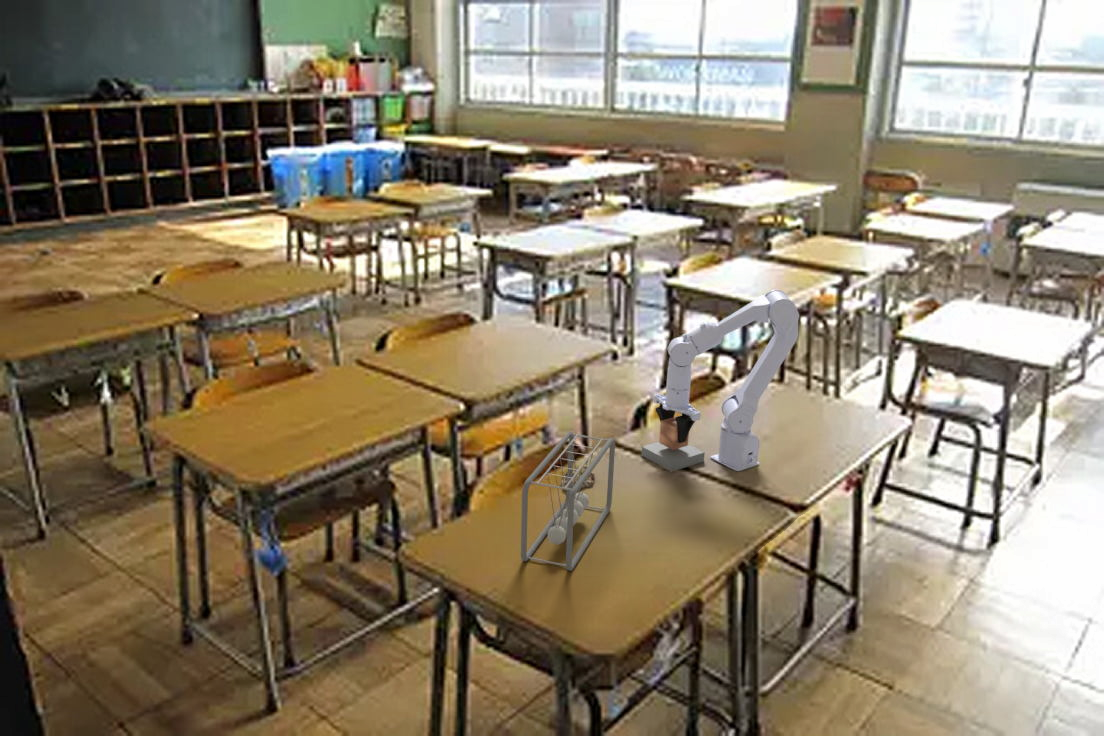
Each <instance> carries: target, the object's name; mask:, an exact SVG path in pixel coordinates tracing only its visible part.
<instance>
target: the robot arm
mask: <svg viewBox="0 0 1104 736" xmlns="http://www.w3.org/2000/svg"><path fill="white" fill-rule="evenodd" d="M799 318H800V313H799V311H798V309H797V306H796V304H795V303H794V302H793V301H792V300H791V299H790V298H789V296H788V295H787V294H786V293H785V292H784V291H783V290H780V289H772V290H769V291H768V292H766V294H762V295H759V296H757V297H756V298H755V299H753V300H752V301H751V302H749V303H747V304H746V305H744V306H742V307H741V308H739V309H738V310H736V311H735V312H733V313H731V314H730V315H728V316H726V317H725V318H723V319H721V320H720V321H718V322H717V323H716V322H713V321H712V322H711V321H709V322H707V323H706V322H702V323H700V324H699V327H698V328H696V329H694V330H692V331H691V332H689V333H684V334H681V337H680V336H678V337H675V338H673V339H671V341H670V343H669V344H668V346H667V349H666V350H667V352H668V355H669V358H668V367H667V375H666V385H665V386H666V387H665V388H666V389H665V395H664V394H661V393H658V394H655V395H653V403H654V404H659V406H657V407H655V413H656V414H657V416H658V420H659V422H660V423H661V421H662V420H665V419H669V418H673V417H675V420H676V423H677V429H678V442H679V443H682V442H686V439H687V436H688V433H689V434H690V431H691V429H692V427H693V426H694V424H695V422H696V421H699V420H701V411H699V410H698V409H696V408H695V407H694V406H693V405H692V404H691V403H690V394H691V393H690V392H691V382H692V380H691V379H692V364H693V362H694V361H695V358H696V357H697V356H699V355H701V354H703V353H706V352H708V350H711V349H713V348H715V347H716V346H718V345H720V344H721V343H722V342H723V339H724V337H725V336H726V335H728V334H730V333H732V332H734V331H736V330H738V329H740V328H743V327H744V326H746V325H749V324H750V323H753V322H760V323H765V324H767V323H768V324H769V319H770V322H771V325H772V328H773V331H774V333H773V335H772V337H771V339H770V340H769V342H768V344H767V345H766V346H765V348H764V350H763V352H762V353H761V355H760V357H759V358H758V359H757V361H756V362H755V364H754V366H753V367H752V369H751V371H750V372H749V374H748V375H747V377H746V378H745V380H744V382H743V383H742V385H741V386H740V387H738V388H737V389H735V390H734V391H733V393H732V394H731V396H729V397H727V398H726V399H725V400H724V401H723V402H722V405H721V413H722V415H723V417H724V419H723V421H722V422H721V424H720V434H719V435H720V436H719V445H718V453H717V454H713V455H710V459H711V460H714V461H715V462H718V463H719V464H722V465H723V466H726V467H728V468H729V469H732V470H733V471H736V472H742V471H744V470H747V469H749V468H753V467H756V466H758V465H760V462H759V460H758V459H759V450H760V439H759V437H758V436H757V435H756V434H754V432H753V431H752V429H751V428H752V427H753V424H754V417H755V415H756V413H757V412H758V406H759V400H760V398H761V397H762V395H763V394H764V392H765V390H766V389H767V388H768V386H769V384H770V383H771V382H772V379H774V377H775V375H776V374H777V372H778V370H779V369H780V368H781V365H782V364H783V363H784V361H785V360H786V357H787V356H788V355H789V353H790V352H791V350H792V349H793V346H795V344H796V342H797V340H798V339H799ZM676 413H679V414H681V415H679V416H675V414H676Z"/></svg>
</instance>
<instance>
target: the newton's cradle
mask: <svg viewBox="0 0 1104 736" xmlns="http://www.w3.org/2000/svg"><path fill="white" fill-rule="evenodd" d="M578 437H580V438H585V439H592V440H598V443H597V444H596V445H595V447H593V448H592V447H591V446H587V448H588V449H592V451H590V453H589V454H586V453H582V455H583V456H587V457H586V458H585V460H584V461H581V463H582V464H581V465H580V466H579V467H580V468H579V469H578V470H577V472H576V473H575V474H574V476H573V470H575V471H576V468H577V466H576V462H577V463H580V461H577V460H575V459H576V458H575V452H574V450H575V440H576V439H577V438H578ZM567 441H568V444H567V446H566V447H565V448H564V449H563V451H562V452H561V453H560V454H559V455H558V457H557V458H556V459H555V460H554V461H553V463H552V464H551V465H550V466H549V467H548V469H547V470H546V471H545V472H544V473H543V474H542V475H541V477H540V478H539V480H538V481H535V480H536V478H537V477H538V475H540V473H541V472H542V471H543V470H544V469H545V467H546V466H547V465H548V464H549V463H550V462H551V460H552V459H553V458H554V456H556V454H557V453H558V452H559V451H560V450H561V449H562V448H563V446H564V445H565V444H566V443H567ZM603 441H604V442H605V443H604V445H603V446H602V447H601V449H600V451H599V452H598V453H597V454H596V455H595V456H594V458H593V455H594V452H595V451H596V450H597V449H598V447H599V446H600V445H601V443H603ZM577 446H579V447H580V445H579V444H576V447H577ZM582 448H586V446H585V445H582ZM608 449H609V454H608V455H609V456H608V472H607V473H608V475H607V489H606V490H607V493H606V503H605V508H603V507H602V508H601V507H597V506H592V505H591V506H590V505H589V504H590V499H589V497H588V495H587V494H585V492H584V490H585V488H586V487H585V484H584V487H583V488H581V486H582V484H583V483H584V481H585V483H586V479H587V477H588V476H589V475H590V473H591V472H592V470H593V471H594V469H595V468H596V466H597V465H598V464H599V462H600V461H601V459H602V458H603V457H604V455H605V454H606V453H607V451H608ZM567 450H568V451H567ZM615 450H616V441H615V438H613V437H609V438H607V439H606V438H601V437H595V436H589V435H582V434H577V433H574V432H573V431H571V430H569V431H567V432H566V434H565V435H564V436H562V438H561V439H560V440H559V442H558V443H557V444H556V445H555V446H554V447H553V448H552V449H551V450H550V452H548V454H547V455H546V456H545V458H544V459H543V460H542V461H541V462H540V463H539V465H538V466H536V468H535V469H534V471H533V472H531V474H530V475H529V477H527V479H526V480H525V481H524V483H523V486H522V492H521V523H520V524H521V525H520V526H521V527H520V534H521V535H520V558H521V560H522V561H523V562H527V561H529V560H533V561H536V562H537V561H538V562H541V563H546V564H552V565H556V566H560V567H565V568H566V570H567V571H570V572H571V571H573V570H574V569H575V567H576V565H577V564H578V562H579V560H580V559H581V558H582V556H583V554H584V553H585V551H586V549H587V548H588V546H589V545H590V543H591V541H592V539H594V537H595V535H596V533H597V532H598V530H599V528H600V527H601V525H602V524H603V522H604V520H606V519H605V518H606V517H607V516H608V514H609V512H610V511H611V507H612V503H613V487H614V470H615V469H614V467H615V455H616V454H615ZM564 454H566V458H564V460H565V461H566V462H567V467H566V469H567V472H568V476H567V485H566V486H565V483H564V487H562V486H559V485H558V478H557V477H561V476H562V477H563V481H564V477H565V476H563V474H564V471H563V469H565V467H564V466H562V458H561V457H562V456H563V455H564ZM576 454H579V455H581V453H579V452H576ZM589 459H590V460H589ZM592 459H593V460H592ZM588 460H589V465H588ZM558 461H560V466H558V465H555V464H556V463H558ZM587 465H588V466H587ZM583 466H585V469H586V467H588V468H587V469H586V470H584V473H583V474H582V476H581V477H580V475H579V478H580V479H577V483H576V484H575V485H574V484H573V488H572V480H573V479H574V478H575V479H576V477H577V474H578V472H579V471H580V470H582V467H583ZM556 467H557V468H561V475H560V474H557V473H556ZM552 468H553V469H554V474H553V473H549V472H550V471H551V469H552ZM580 474H581V471H580ZM549 475H551V476H555V482H556V485H553V484H551V482H550V476H549ZM545 476H547V480H548V484H547V483H543V482H542V481H543V479H544V478H545ZM572 476H573V477H572ZM541 482H542V483H541ZM574 483H575V480H574ZM531 484H532V485H538V486H543V487H548V488H549V493H550V494H549V495H550V499H551V506H552V513H553V516H552V517H551V519H550V520H549V522H548V523H547V524H546V525H545V527H544V528H543V530H542V531H541V533H539V535H538V536H537V538H536V539H535V541H534V542H533V544H532V545H531V546H530V547H529V549H528V550H527V546H528V545H527V544H528V543H527V542H528V539H527V538H528V502H529V488H530V486H531ZM551 488H554V489H557V495H558V501H559V508H558V509H557V511H556V512H555V511H554V510H555V509H554V503H553V497H552V491H551ZM579 488H580V489H579ZM559 489H560V490H564V493H565V500H564V501H563V503H561V496H560V493H559ZM581 489H582V491H581ZM566 490H567V491H566ZM587 508H588V509H594V510H599V511H602V512H601V514H600V515H599V517H598V518H597V520H596V521H595V523H594V525H593V526H592V528H591V530H589V533H588V534H587V536H586V537H585V539H584V540H583V542H582V544H581V545H580V547H579V548H578V550H577V551H576V553H575V555H574V556H573V537H574V526H575V525H576V524H577V523H578V521H579V518H580V517H581V516H582V515H583V513H584V510H585V509H587ZM546 537H547V538H548V540H549V542H550V543H552V544H553V545H560V544H562V543H564V542H565V540H566V546H565V549H566V552H565V563H560V562H555V561H550V560H546V559H541V558H537V557H532V556H533V554H534V553H535V552H536V550H537V548H538V547H539V546H540V544H541V543H542V542H543V540H544V539H545V538H546Z"/></svg>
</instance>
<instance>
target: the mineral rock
mask: <svg viewBox="0 0 1104 736" xmlns="http://www.w3.org/2000/svg"><path fill="white" fill-rule="evenodd" d="M585 466H586V465H584V466H583V467H582V470H580V471H581V474H580V471H579V472H578V474H577V477H576V479H575V478H574V479H573V480H572V488H573V484H574V485H575V484H576V483H577V479H580V478H579V475H580V477H581V476H582V474H583V473H584V470H586V469H587V468H588V466H586V469H585ZM579 468H580V466H577V467H576V471H575V470H573V476H574V474H575V473H576V472H577V470H578V469H579ZM563 476H565V477H564V481H563ZM567 476H568V471H566V472H565V473H563V475H562V476H561V480H560V483H559V485H560V487H564V483H565V486H566V485H567ZM573 476H572V477H573ZM574 480H575V483H574ZM595 481H596V477H595V472H594V469H593V470H592V472H591V473H590V475H589V476H588V477H587V479H586V483H585V481H584V483H583V484H582V486H581V489H583V488H586V487H592V486H593V485H594V483H595ZM584 484H585V487H584ZM581 489H580V488H579V490H581ZM566 492H567V490H566Z"/></svg>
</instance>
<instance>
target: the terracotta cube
mask: <svg viewBox="0 0 1104 736" xmlns="http://www.w3.org/2000/svg"><path fill="white" fill-rule="evenodd" d="M675 417H676V416H674V417H673V418H669V419H665V420H662V421H661V422H660V427H659V429H660V430H659V439H658V442H659V443H660V444H662V445H664V446H666V447H668V448H670V449H672V450H675V449H678V448H681V447H685V446H688V444H689V435H690V432H689V433H688V436H687V439H686V442H682V443H679V442H678V429H677V423H676V420H675Z"/></svg>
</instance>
